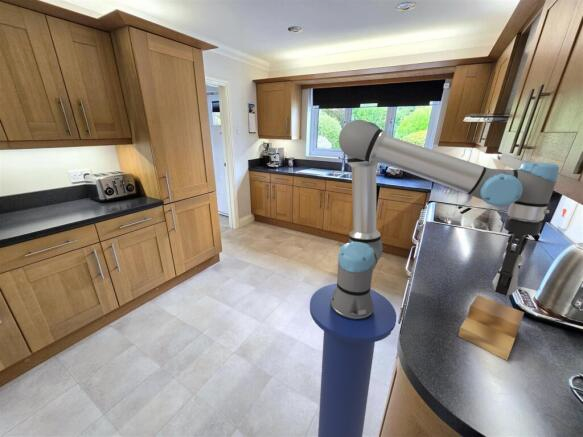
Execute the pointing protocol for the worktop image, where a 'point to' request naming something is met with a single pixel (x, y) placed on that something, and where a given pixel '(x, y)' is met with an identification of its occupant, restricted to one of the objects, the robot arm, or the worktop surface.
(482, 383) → the worktop surface
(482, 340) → the stepped wooden block
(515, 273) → the salt shaker
